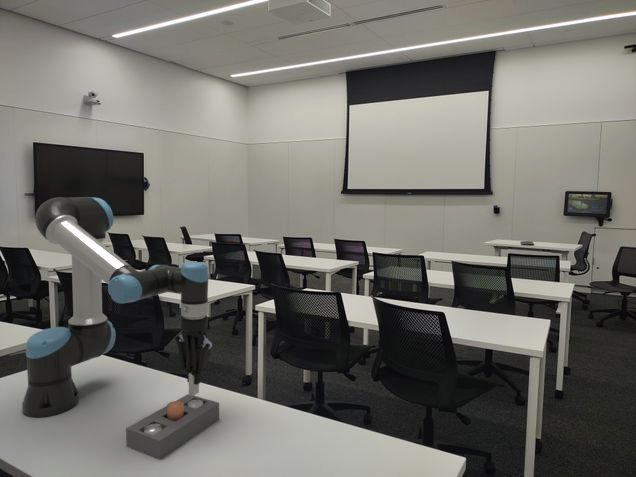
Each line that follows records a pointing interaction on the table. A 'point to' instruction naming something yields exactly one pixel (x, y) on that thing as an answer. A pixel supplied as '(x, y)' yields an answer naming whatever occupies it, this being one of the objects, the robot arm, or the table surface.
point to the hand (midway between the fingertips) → (193, 393)
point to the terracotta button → (175, 410)
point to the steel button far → (195, 403)
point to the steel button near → (152, 429)
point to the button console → (171, 428)
